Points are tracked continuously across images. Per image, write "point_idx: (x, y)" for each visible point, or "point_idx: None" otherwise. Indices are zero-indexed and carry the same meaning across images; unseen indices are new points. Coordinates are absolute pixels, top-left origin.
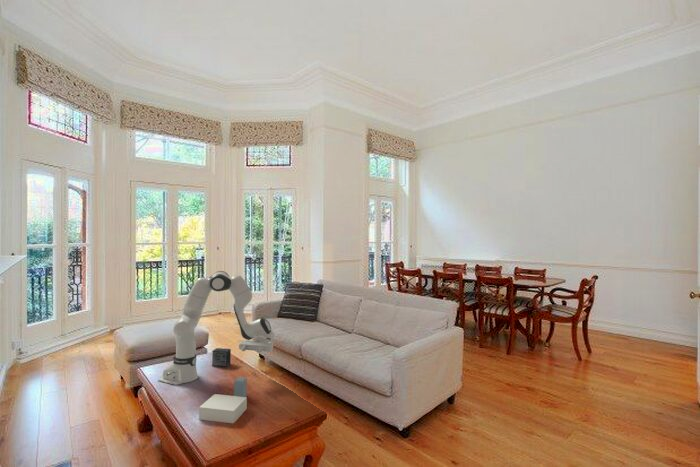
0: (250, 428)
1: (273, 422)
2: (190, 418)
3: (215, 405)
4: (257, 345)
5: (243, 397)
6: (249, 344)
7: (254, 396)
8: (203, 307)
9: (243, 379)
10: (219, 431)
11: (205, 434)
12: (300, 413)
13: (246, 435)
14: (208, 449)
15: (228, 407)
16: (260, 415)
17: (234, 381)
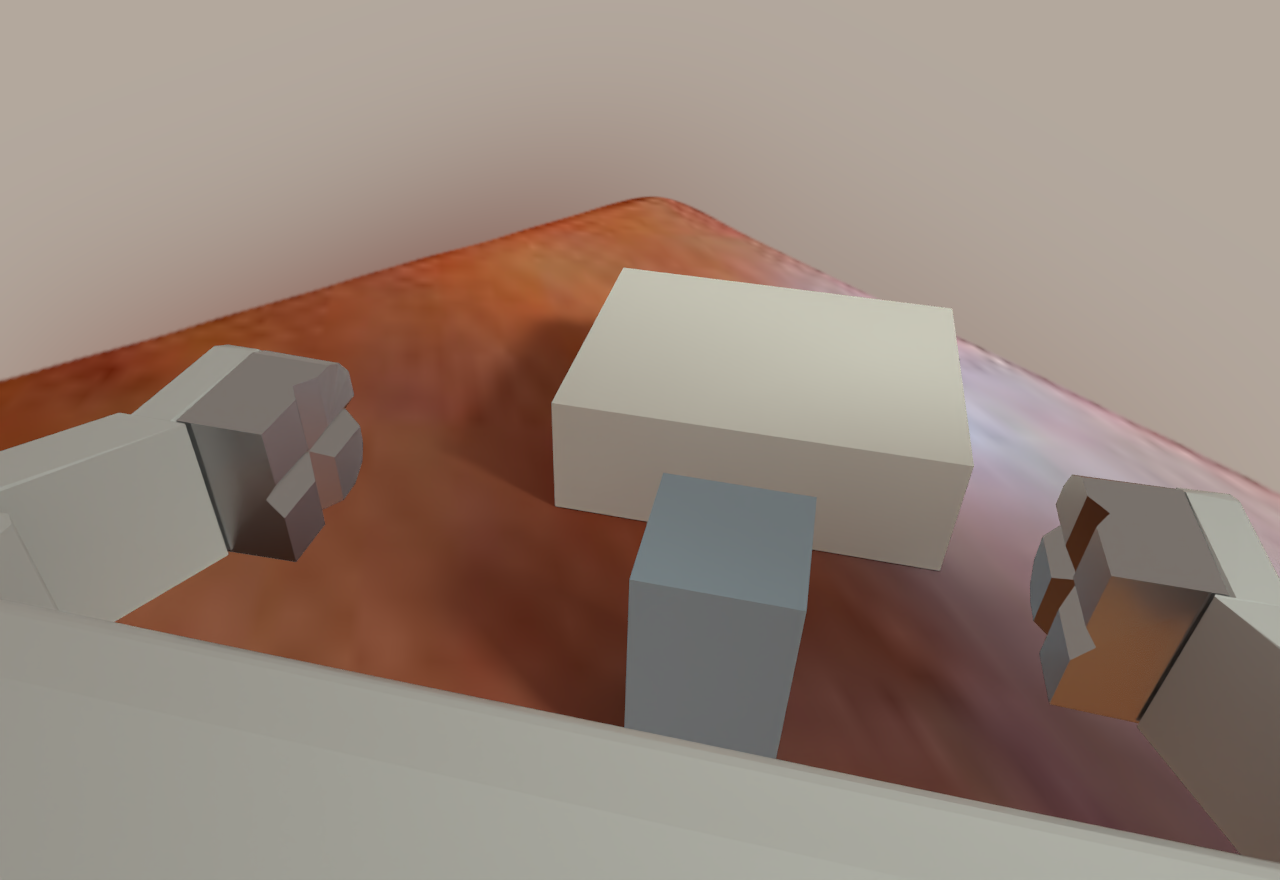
0: (482, 319)
1: (304, 356)
2: (1009, 415)
3: (820, 318)
4: (239, 649)
5: (589, 401)
6: (1081, 834)
7: None
8: None
9: (674, 532)
10: None
11: None
12: (19, 431)
13: (501, 280)
14: (689, 228)
15: (686, 297)
16: (407, 423)
17: (808, 503)
